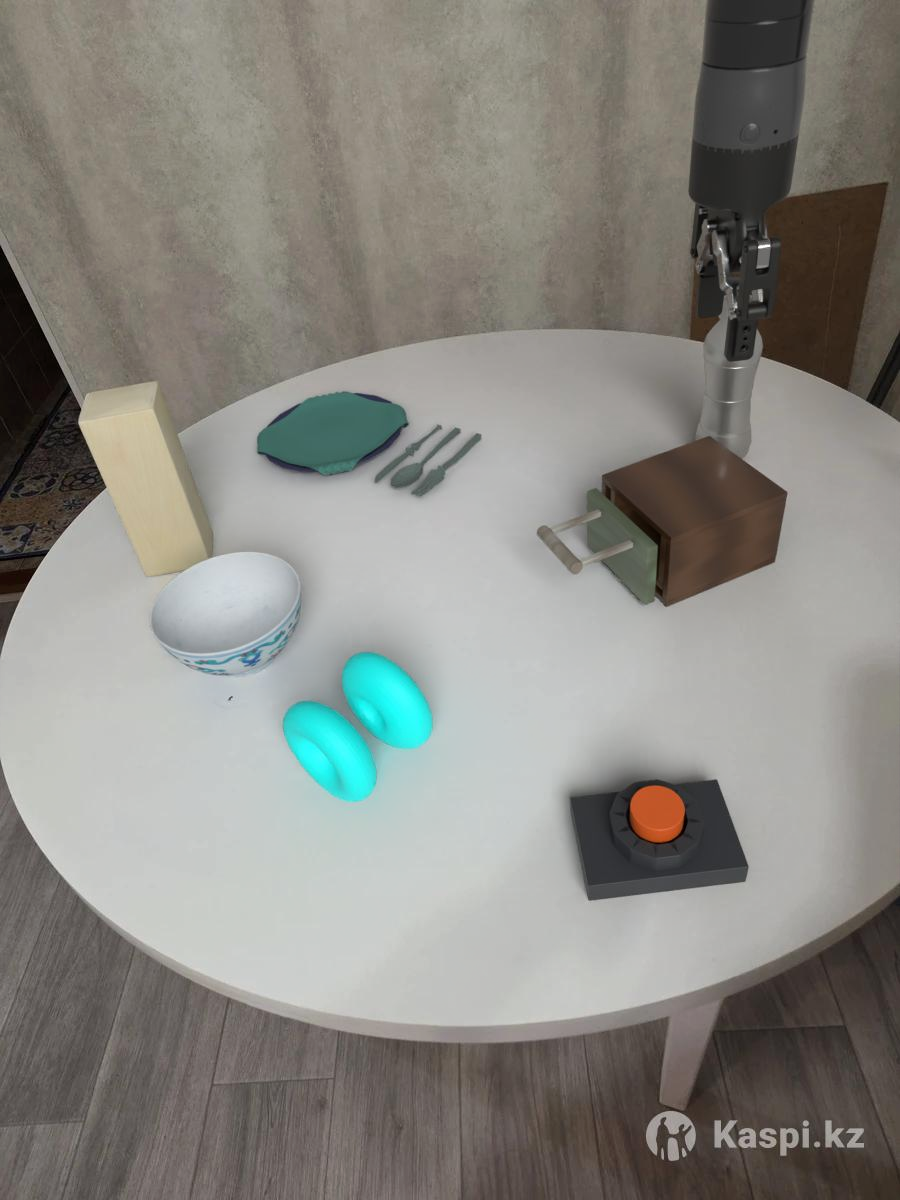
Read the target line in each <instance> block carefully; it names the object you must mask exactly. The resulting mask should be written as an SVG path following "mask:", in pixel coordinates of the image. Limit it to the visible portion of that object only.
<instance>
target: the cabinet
mask: <svg viewBox="0 0 900 1200" xmlns="http://www.w3.org/2000/svg"><path fill="white" fill-rule="evenodd" d="M611 490H612V491H613V492H614V493H616V494H617V495H618V496H619V497H620V498H621V499H622V500H623V501H624V502H625V503H626V504H628V505H629V506H630V507H631V508H632V509H633V510H634V511H635V512H636V513H637V514H639V515H640V516H641V517H642V518H643V519H644V520H645V521H646V522H647V523H648V524H649V525H651V526H652V527H653V528H654V529H655V530H656V531H657V532H658V533H659V534H660V535H661V536H663V537H664V538H665V539H666V550H665V565H664V580H663V590H661V589H660V588H659V587H658V586H657V585H656V586H655V598H657V599H658V600H659V602H661V603H662V604H663V606H665V608H668V607H670V606H672V605H675V604H677V603H679V602H682V601H684V600H687V599H689V598H692V597H694V596H696V595H699V594H702V593H704V592H707V591H709V590H711V589H714V588H717V587H719V586H721V585H724V584H726V583H729V582H730V581H734V580H735V579H737V578H740V577H743V576H745V575H747V574H749V573H753V572H755V571H757V570H759V569H762V568H764V567H767V566H770V565H771V564H775V563H776V560H777V554H778V548H779V542H780V539H781V532H782V526H783V522H784V515H785V509H786V505H787V498H788V493H789V492H788V491H787V490H785V489H784V488H783V487H782V486H780V485H778V484H777V483H776V482H775V481H773V480H772V479H770V478H769V477H768V476H766V475H765V474H763V473H762V472H761V471H759V470H758V469H757V468H755V467H754V466H753V465H751V464H749V463H748V462H747V461H746V460H744V458H743V459H741V458H740V457H738V456H737V455H736V454H734V453H733V452H731V451H730V450H729V449H727V448H726V447H725V446H723V445H722V444H720V443H719V442H718V441H716V440H715V439H714V438H712V437H711V436H707V437H704V438H702V439H699V440H696V439H695V440H693V441H691V442H688V443H686V444H683V445H680V446H678V447H677V446H676V447H675V448H672V449H669V450H666V451H663V452H661V453H658V454H655V455H652V456H650V457H647V458H644V459H641V460H640V461H636V462H634V463H631V464H628V465H624V466H622V467H619V468H617V469H614V470H612V471H609V472H605V473H604V474H603V473H602V474H601V493H602V494H603V495H604V496H605V497H607V498H608V499H609V500H610V501H611Z"/></svg>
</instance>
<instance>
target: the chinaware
mask: <svg viewBox="0 0 900 1200" xmlns="http://www.w3.org/2000/svg"><path fill="white" fill-rule="evenodd" d="M301 585H302V584H301V582H300V577H299V575H298V572H297V571H296V570H295V568H294V567H293V566H292V565H291V564H290V562H289V563H288V562H287V561H286V560H284V559H283V558H281V557H279V556H276V555H273V554H271V553H267V552H261V551H235V552H229V553H223V554H220V555H216V556H212V558H209V559H207V560H204V561H202V562H199V563H197V564H195V565H193V566H191V567H189V568H188V569H186V570H183V571H180V572H179V573H178V574H177V575H176V576H174V577H173V578H172V579H170V581H168V582H167V584H165V586H164V587H163V588H162V589H161V590H160V591H159V592H158V594H157V596H156V597H155V599H154V601H153V603H152V606H151V608H150V611H149V627H150V631H151V633H152V635H153V636H154V638H155V639H156V641H157V642H158V643H159V645H160V646H161V647H162V648H163V649H164V651H166V652H167V653H168V654H169V655H170V656H171V657H173V658H174V659H175V660H176V661H178V663H179V662H180V663H181V664H182V665H184V666H185V667H188V668H189V669H192V670H194V671H197V672H200V673H204V674H207V675H214V676H227V677H233V678H242V677H248V676H251V675H254V674H257V673H258V672H259V673H260V671H262V670H264V669H266V668H267V667H268V666H269V665H270V664H271V663H273V661H274V659H275V658H276V657H277V655H279V654H280V653H281V652H282V651H283V649H284V648H285V647H286V646H287V645H288V643H289V641H290V640H291V639H292V636H293V635H294V632H295V631H296V627H297V625H298V623H299V619H300V614H301V608H302V587H301Z"/></svg>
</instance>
